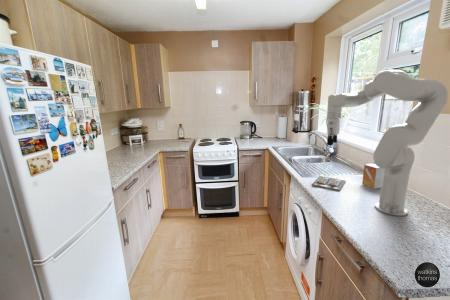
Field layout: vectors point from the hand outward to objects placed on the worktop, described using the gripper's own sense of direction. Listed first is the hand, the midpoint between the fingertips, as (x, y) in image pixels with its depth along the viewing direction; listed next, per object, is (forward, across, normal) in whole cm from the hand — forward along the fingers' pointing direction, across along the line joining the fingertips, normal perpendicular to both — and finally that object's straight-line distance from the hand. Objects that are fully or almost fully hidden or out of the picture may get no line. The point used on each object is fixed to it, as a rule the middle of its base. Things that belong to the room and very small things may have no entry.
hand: (331, 143), depth 132 cm
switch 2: (+25, -4, -3) cm, 26 cm away
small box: (+26, +11, -22) cm, 36 cm away
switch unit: (+26, 0, 0) cm, 26 cm away
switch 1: (+25, -4, +4) cm, 26 cm away
